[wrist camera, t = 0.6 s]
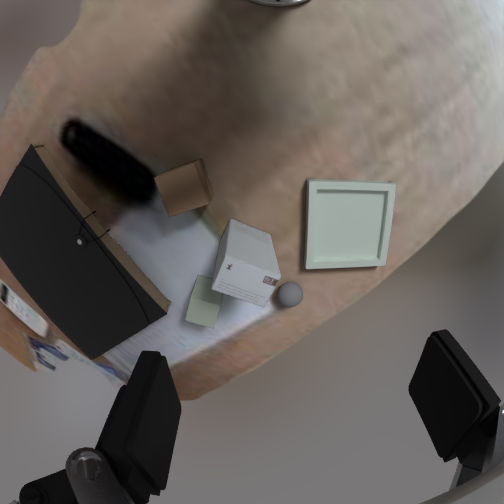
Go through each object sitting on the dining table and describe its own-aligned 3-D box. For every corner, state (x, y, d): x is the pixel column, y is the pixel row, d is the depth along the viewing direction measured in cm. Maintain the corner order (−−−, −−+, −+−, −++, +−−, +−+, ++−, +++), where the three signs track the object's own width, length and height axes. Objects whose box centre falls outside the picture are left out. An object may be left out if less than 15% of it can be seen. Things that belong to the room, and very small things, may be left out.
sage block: (198, 274, 42) (190, 297, 36) (224, 282, 42) (220, 305, 37) (192, 296, 43) (185, 320, 38) (217, 303, 44) (213, 328, 38)
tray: (306, 178, 36) (309, 181, 34) (390, 181, 36) (395, 184, 34) (303, 263, 41) (305, 269, 39) (380, 260, 41) (384, 265, 39)
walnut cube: (166, 171, 35) (153, 177, 31) (201, 158, 35) (193, 162, 30) (179, 205, 37) (169, 217, 33) (213, 194, 37) (208, 204, 32)
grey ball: (277, 277, 42) (279, 290, 38) (301, 276, 42) (305, 289, 38) (276, 298, 43) (278, 312, 40) (300, 297, 43) (304, 311, 40)
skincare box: (218, 244, 40) (206, 291, 28) (230, 215, 38) (222, 254, 27) (260, 260, 41) (263, 311, 30) (273, 232, 39) (282, 277, 28)
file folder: (167, 314, 40) (88, 363, 46) (174, 299, 44) (95, 349, 50) (30, 143, 29) (-19, 236, 35) (46, 139, 33) (-6, 228, 39)
